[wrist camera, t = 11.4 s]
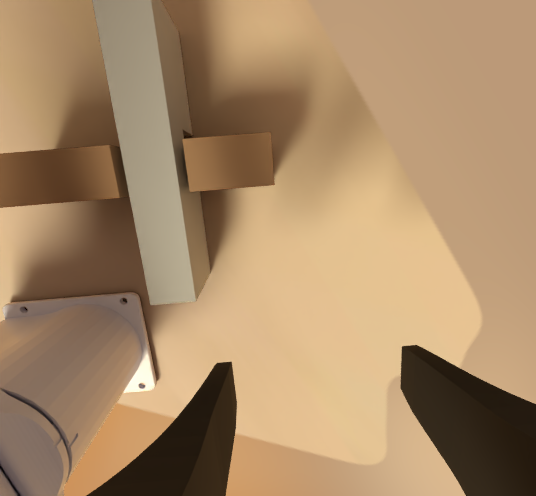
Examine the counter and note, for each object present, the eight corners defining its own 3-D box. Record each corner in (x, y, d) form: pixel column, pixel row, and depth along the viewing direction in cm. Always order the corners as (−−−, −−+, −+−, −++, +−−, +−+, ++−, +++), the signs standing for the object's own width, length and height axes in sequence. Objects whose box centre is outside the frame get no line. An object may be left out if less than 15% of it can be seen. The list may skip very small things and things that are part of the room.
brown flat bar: (60, 200, 19) (-7, 208, 14) (51, 161, 18) (-23, 155, 14) (270, 183, 19) (274, 184, 14) (267, 143, 19) (270, 132, 14)
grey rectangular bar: (210, 272, 21) (195, 301, 16) (175, 275, 21) (150, 305, 16) (178, 32, 17) (147, -26, 12) (136, 35, 17) (88, -22, 12)
